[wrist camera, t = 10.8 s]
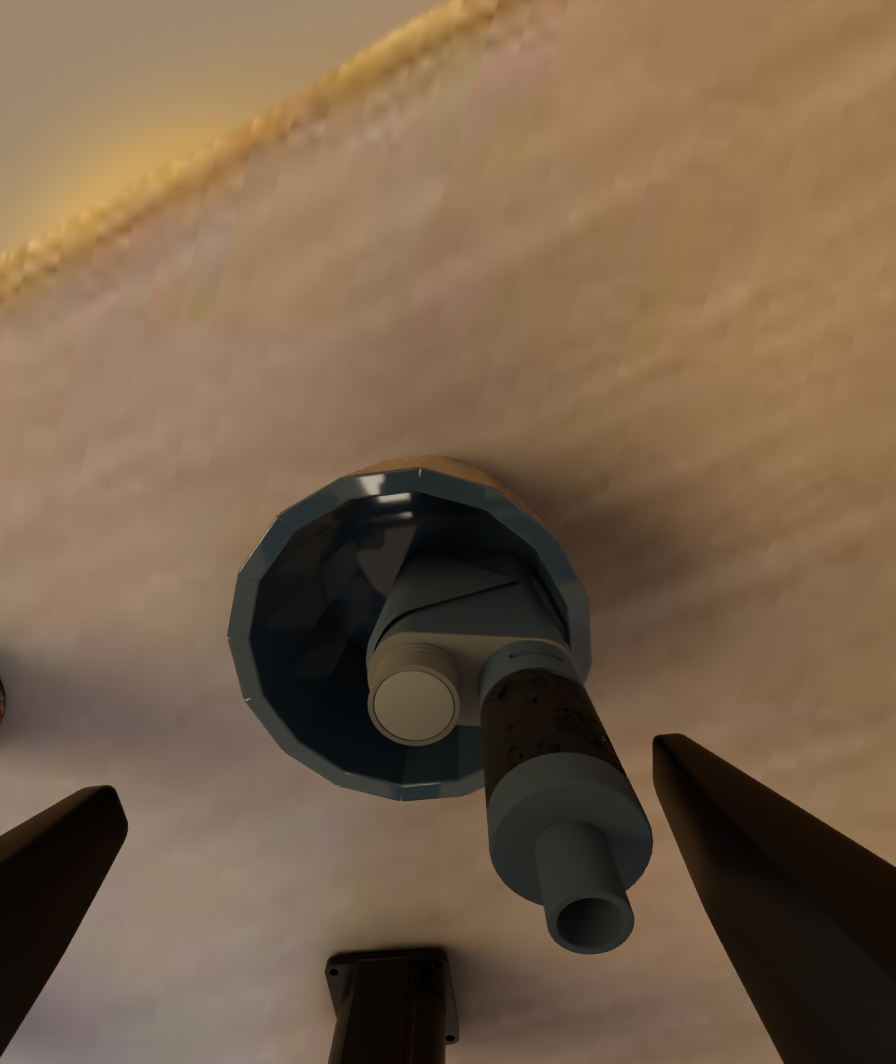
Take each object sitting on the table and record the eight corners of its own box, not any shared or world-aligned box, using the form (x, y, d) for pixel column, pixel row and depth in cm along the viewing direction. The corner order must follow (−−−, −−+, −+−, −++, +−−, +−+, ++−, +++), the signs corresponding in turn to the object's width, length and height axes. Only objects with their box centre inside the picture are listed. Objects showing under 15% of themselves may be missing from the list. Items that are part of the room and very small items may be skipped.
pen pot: (549, 663, 18) (598, 786, 12) (334, 685, 19) (272, 813, 12) (532, 441, 16) (582, 446, 10) (290, 471, 17) (187, 495, 10)
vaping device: (527, 610, 17) (676, 1005, 5) (399, 603, 17) (271, 977, 5) (533, 549, 16) (717, 848, 5) (400, 542, 16) (258, 818, 5)
